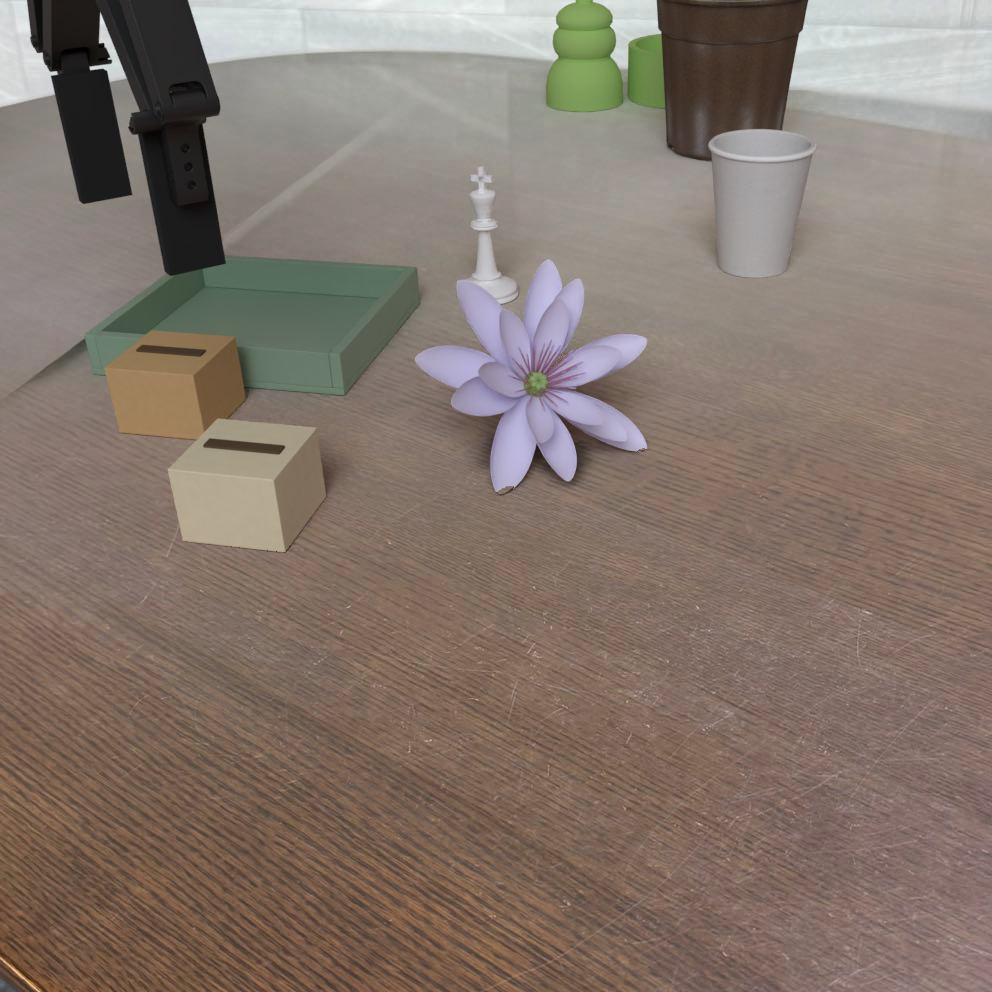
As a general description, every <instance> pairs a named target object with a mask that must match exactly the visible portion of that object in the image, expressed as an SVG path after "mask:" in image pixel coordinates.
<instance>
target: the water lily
mask: <svg viewBox="0 0 992 992" xmlns="http://www.w3.org/2000/svg"><path fill="white" fill-rule="evenodd" d="M455 286H456V293H457V295H458V298H457V300H458V302H459V305H460V308H461V310H462V313H463V315H464V317H465V320H466V321H467V323H468V325H469V327H470V329H471V330H472V332H473V333H474V334H475V336H476V338H477V339H478V341H479V343H481V345H482V346H483V347H484V348H485V350H486V351H487V352H488V353H489V354H490V355H489V354H488V353H485V352H483V351H481V350H479V349H474V348H470V347H466V346H460V345H453V344H451V345H450V344H449V345H447V344H446V345H437V346H432V347H430V348H426V349H424V350H423V351H421V352H419V353H418V354H417V355H416V356H415V357H414V361H415V363H416V365H417V366H418V367H419V368H420V369H421V371H423V372H425V373H426V374H427V375H429V376H430V377H431V378H433V379H434V380H436V381H438V382H440V383H442V384H444V385H446V386H449V387H451V388H454V389H456V390H455V391H454V393H453V395H452V397H451V400H450V406H451V407H452V408H453V409H455V410H457V411H458V412H460V413H463V414H465V415H469V416H473V417H491V416H497V415H500V414H502V415H501V417H500V420H499V422H498V424H497V426H496V431H495V433H494V437H493V441H492V446H491V451H490V459H489V468H490V469H489V471H490V477H491V483H492V486H493V488H494V491H495V493H496V492H498V491H499V490H501V489H502V488H505V487H506V486H514V488H516V487H517V486H518V485H519V484H520V483H521V482H522V480H523V479H524V477H525V476H526V475H527V473H528V471H529V469H530V466H531V465H532V461H533V458H534V455H535V451H536V449H537V446H538V449H539V450H540V453H541V454H542V457H543V458H544V459H545V461H546V463H548V465H549V466H550V467H551V469H552V470H553V471H554V472H555V473H556V474H557V475H558V476H559V477H560V478H561V479H562V480H563V481H565V482H571V481H572V480H573V478H574V476H575V474H576V470H577V465H578V464H577V463H578V456H577V450H576V446H575V443H574V440H573V438H572V435H571V433H570V431H569V430H568V428H567V426H566V425H565V423H564V422H563V421H562V419H561V418H560V416H561V417H562V418H564V419H565V420H566V421H567V422H568V423H570V424H571V425H573V426H574V427H575V428H577V429H578V430H580V431H582V432H583V433H585V434H586V435H588V436H590V437H592V438H594V439H596V440H598V441H600V442H602V443H604V444H607V445H610V446H611V447H615V448H618V449H621V450H625V451H628V452H629V451H631V452H637V451H638V450H639V449H642V448H645V449H647V450H648V444H647V441H646V438H645V437H644V435H643V433H642V432H641V430H640V429H639V428H638V427H637V426H636V424H635V423H634V422H633V421H632V420H631V419H630V418H628V417H627V415H625V414H623V413H622V412H621V411H619V410H618V409H617V408H615V407H613V406H611V405H610V404H608V403H606V402H604V401H602V400H600V399H598V398H595V397H593V396H591V395H587V394H584V393H582V392H579V391H574V390H577V387H579V386H583V385H585V384H588V383H591V382H595V381H597V380H600V379H604V377H607V376H610V375H612V374H613V373H616V372H618V371H619V370H621V369H623V368H625V367H627V366H628V365H629V364H631V363H632V362H634V361H635V360H636V359H638V357H639V356H640V355H641V354H642V353H643V352H644V350H645V348H646V347H647V345H648V339H647V338H646V337H645V336H642V335H638V334H634V333H633V334H632V333H620V334H619V333H618V334H612V335H608V336H604V337H601V338H599V339H596V340H594V341H592V342H588V343H587V344H585V345H583V346H581V347H579V348H577V349H576V350H575V349H574V348H573V349H571V350H570V351H569V352H567V354H566V355H565V356H563V358H562V359H561V360H559V361H558V362H557V363H556V361H557V360H558V359H559V358H560V357H561V355H562V354H563V353H564V351H565V350H566V349H567V347H568V346H569V343H570V342H571V340H572V338H573V336H574V334H575V332H576V329H577V327H578V325H579V323H580V319H581V316H582V313H583V309H584V303H585V287H584V284H583V281H582V279H581V278H574V279H573V280H571V281H570V282H568V283H567V284H566V285H565V286H563V283H562V278H561V276H560V273H559V270H558V268H557V267H556V265H555V263H554V261H552V260H551V259H550V258H548V259H546V260H544V261H543V262H542V263H541V264H540V265H539V267H538V268H537V269H536V271H535V273H534V275H533V276H532V279H531V281H530V284H529V287H528V290H527V294H526V299H525V303H524V304H525V306H524V311H523V320H522V319H521V318H520V317H519V316H518V315H517V314H516V313H515V312H513V311H512V310H509V309H508V308H504V307H503V305H502V304H500V303H499V302H498V301H497V300H496V299H495V298H494V297H493V296H492V295H491V294H490V293H489V292H488V291H486V290H485V289H484V288H482V287H480V286H479V285H477V284H475V283H473V282H470V281H466V280H464V279H458V280H457V281H456V285H455ZM555 363H556V364H555ZM553 365H554V366H553ZM552 366H553V367H552ZM638 452H639V451H638Z"/></svg>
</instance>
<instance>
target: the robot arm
mask: <svg viewBox="0 0 992 992" xmlns="http://www.w3.org/2000/svg"><path fill="white" fill-rule="evenodd" d="M26 5H27V13H28V22H29V30H30V36H29V39H30V43H31V46H32V47H33V49H34V50H35V52H36V53H37V54H42V60H43V63H44V65H45V66H46V68H47V69H48V71H49V72H50V73H53V72H56V73H57V74H52V75H50V79H51V83H52V88H53V92H54V96H55V101H56V105H57V110H58V113H59V118H60V123H61V127H62V132H63V137H64V141H65V144H66V149H67V153H68V158H69V162H70V167H71V170H72V176H73V178H74V184H75V189H76V193H77V198H78V201H79V202H80V203H81V204H82V205H87V204H91V203H98V202H103V201H107V200H108V201H109V200H113V199H119V198H123V197H129V196H130V197H131V196H133V191H132V186H131V182H130V181H131V180H130V176H129V169H128V166H127V161H126V156H125V152H124V146H123V141H122V136H121V132H120V126H119V121H118V117H117V112H116V107H115V101H114V98H113V93H112V88H111V87H112V86H111V81H110V78H109V72H108V70H107V69H104V68H98V69H97V68H95V69H91V68H92V67H97V66H98V67H99V66H106V65H112V64H113V59H111V55H110V53H109V50H108V48H107V47H106V46H105V43H104V42H100V31H101V30H100V28H101V27H100V26H101V17H102V20H103V22H104V25H105V27H106V30H107V33H108V35H109V37H110V41H111V42H112V46H113V47H114V50H115V53H116V55H117V58H118V60H119V63H120V65H121V68H122V70H123V73H124V75H125V77H126V80H127V83H128V85H129V89H130V90H131V93H132V95H133V98H134V100H135V103H136V105H137V107H138V111H135V112H131V113H130V117H129V118H130V119H129V122H128V127H127V128H128V131H129V132H130V134H131V135H133V136H137V138H138V142H139V147H140V152H141V157H142V162H143V167H144V172H145V173H144V174H145V177H146V183H147V187H148V189H147V190H148V194H149V198H150V203H151V204H150V205H151V208H152V214H153V218H154V219H153V220H154V225H155V229H156V235H157V239H158V245H159V250H160V256H161V260H162V265H163V269H164V272H165V274H168V275H170V276H173V275H178V274H182V273H187V272H191V271H196V270H200V269H205V268H209V267H214V266H218V265H223V264H226V262H225V256H224V255H225V250H224V244H223V238H222V231H221V227H220V220H219V214H218V208H217V202H216V196H215V190H214V184H213V179H212V178H213V177H212V173H211V172H212V171H211V166H210V160H209V154H208V153H209V152H208V148H207V142H206V135H205V130H204V124H206V123H207V118H212V117H217V116H220V113H221V101H220V97H219V96H218V91H217V90H216V89H217V88H216V86H215V83H214V79H213V76H212V72H211V70H210V67H209V63H208V60H207V57H206V54H205V51H204V47H203V44H202V41H201V38H200V34H199V32H198V27H197V25H196V22H195V19H194V15H193V12H192V9H191V5H190V2H189V0H26Z"/></svg>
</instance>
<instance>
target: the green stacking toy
mask: <svg viewBox="0 0 992 992" xmlns="http://www.w3.org/2000/svg"><path fill="white" fill-rule="evenodd" d="M613 19H614V17H613V14H612V12H611V10H610V9H609V8H607V7H606V6H605V5H604V4H601V3H598V2H595V1H594V0H575V2H571V3H568V4H566V5H565V6H563V7H562V8H561V9H560V10H559V11H558V12H557V13H556V15H555V24H556V26H558V27H557V28H556V29H555V30H554V32H553V35H552V47H553V50H554V52H555V54H556V55H557V58H556V60H554V62H553V63H552V64H551V66H550V68H549V71H548V73H547V76H546V81H545V99H546V100H545V101H546V102H545V103H546V106H547V107H549V108H552V109H555V110H559V111H565V112H574V113H575V112H579V113H580V112H581V113H585V112H586V113H587V112H600V111H607V110H612V109H615V108H618V107H620V106H621V105H622V104H623V103H624V102H623V101H624V98H623V97H624V86H623V85H624V83H623V76H622V72H621V70H620V68H619V65H618V64H617V61H615V60H614V58H612V57H611V55H612V54H613V52H614V51H615V48H616V47H617V46H616V45H617V35H616V32H615V30H614V28H612V26H611V25H612V24H613V21H614V20H613ZM627 44H628V48H627V50H628V51H627V52H628V53H627V98H628V99H629V100H630V101H631V102H633V103H635V104H638V105H640V106H641V105H642V106H645V107H650V108H657V109H665V93H664V73H663V55H662V37H661V33H656V34H655V33H654V34H650V35H649V34H648V35H645V36H639V37H637V38H634V39H632V40H630V41H628V43H627Z"/></svg>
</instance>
